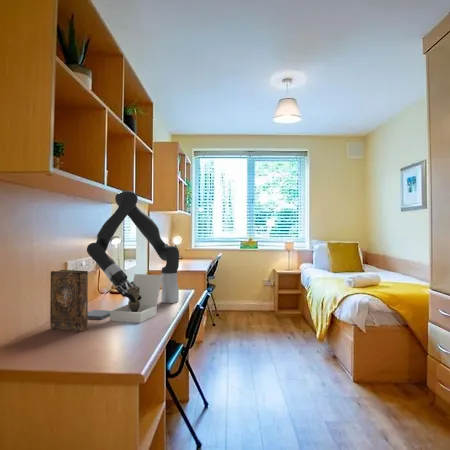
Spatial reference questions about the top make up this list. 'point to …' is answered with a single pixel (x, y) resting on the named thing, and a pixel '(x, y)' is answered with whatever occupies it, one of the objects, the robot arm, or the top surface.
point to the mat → (98, 314)
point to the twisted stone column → (135, 293)
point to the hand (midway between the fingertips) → (137, 300)
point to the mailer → (141, 300)
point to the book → (69, 300)
